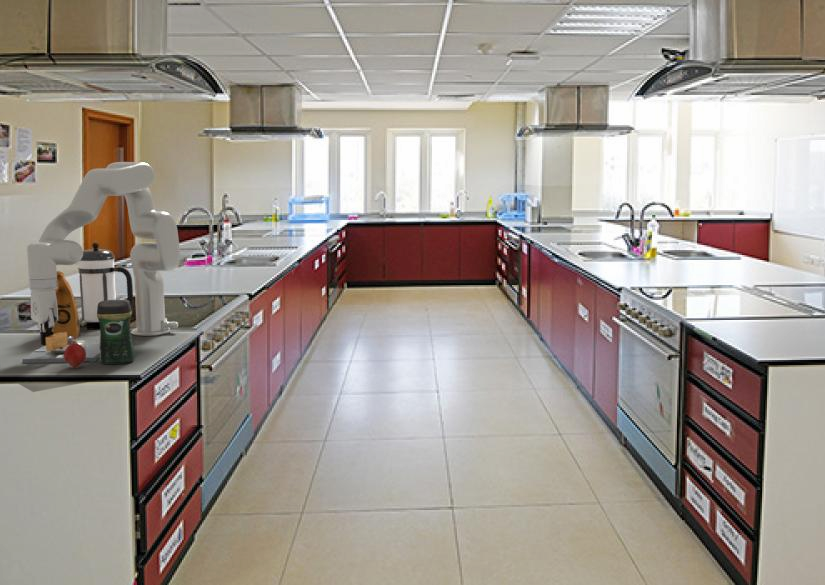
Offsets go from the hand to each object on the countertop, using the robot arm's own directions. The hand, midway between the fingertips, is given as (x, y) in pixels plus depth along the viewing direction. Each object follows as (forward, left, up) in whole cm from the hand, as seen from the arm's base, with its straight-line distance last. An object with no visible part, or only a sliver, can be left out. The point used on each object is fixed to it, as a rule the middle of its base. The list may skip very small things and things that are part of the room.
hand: (47, 344), depth 237 cm
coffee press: (-1, -56, -4) cm, 56 cm away
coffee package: (+6, -33, -4) cm, 33 cm away
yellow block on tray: (-4, -2, -3) cm, 5 cm away
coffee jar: (-21, +6, -4) cm, 23 cm away
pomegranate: (-11, +12, -4) cm, 17 cm away
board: (-4, -5, -4) cm, 8 cm away
